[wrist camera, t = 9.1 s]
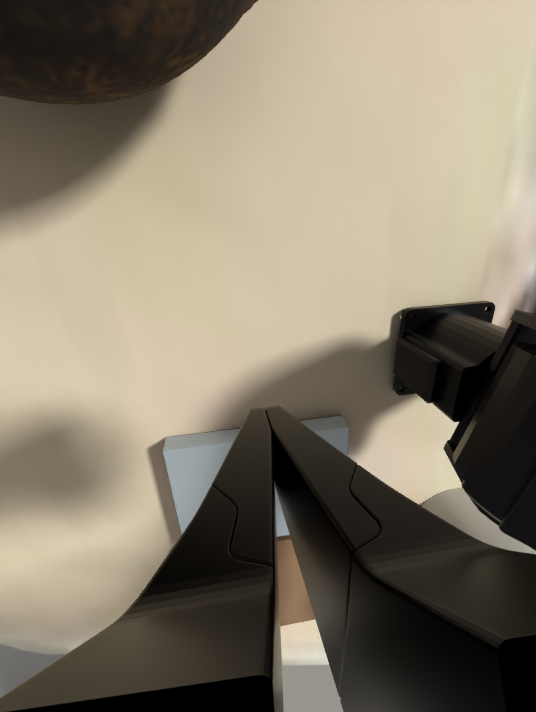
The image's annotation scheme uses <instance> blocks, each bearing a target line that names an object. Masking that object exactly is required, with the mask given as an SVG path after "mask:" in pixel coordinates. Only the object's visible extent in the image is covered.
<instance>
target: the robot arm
mask: <svg viewBox="0 0 536 712" xmlns="http://www.w3.org/2000/svg"><path fill="white" fill-rule="evenodd" d="M486 307H487V309H486V310H485V308H486ZM494 311H495V305H494V304H493V303H492V302H488V301H479V302H468V303H457V304H445V305H434V306H423V307H411V308H407V309H406V310H404V312H403V314H402V319H401V327H400V335H399V340H398V341H397V346H396V354H395V363H394V371H393V373H394V374H395V375H394V383H393V390H394V391H395V392H396V393H397V394H398V395H407V394H418V395H419V396H420V397H421V398H422V399H423V400H424V401H425V402H427V403H433V404H434V405H435V406H436V407H437V408H438V409H440V410H441V411H442V412H443V413H444V414H445V415H446V416H448V417H449V418H450V419H451V420H452V421H453V422H459V421H460V422H459V424H458V425H457V427H456V429H455V431H454V433H453V435H452V437H451V439H450V440H448V441H447V442H446V444H445V446H444V450H445V452H446V454H447V456H448V458H449V460H450V462H451V464H452V465H453V467H454V469H455V471H456V473H457V475H458V477H459V479H460V481H461V483H462V487H463V489H464V491H465V493H466V494H467V495H468V496H469V498H470V499H471V501H472V502H473V504H474V505H475V506H476V507H477V508H478V510H479V511H480V512H481V513H482V514H484V515H485V516H486V517H487V518H489V519H490V520H491V521H492V522H494V523H495V524H497V525H498V526H499V529H500V530H501V531H502V532H503V533H504V534H506V535H508V536H510V537H512V538H514V539H516V540H518V541H520V542H521V543H523V544H525V545H527V546H529V547H531V548H532V549H534V550H535V551H536V314H533V313H528V312H524V311H520V310H515V311H514V313H513V315H512V317H511V319H510V320H512V322H511V324H510V326H509V328H508V330H507V329H505V328H502V327H500V326H497V325H494V324H492V319H493V315H494ZM411 313H412V314H413V315H412V317H411V318H409V315H410V314H411ZM402 386H403V387H402ZM400 387H402V388H401V389H400V390H399V388H400ZM275 488H276V491H277V495H278V498H279V502H280V505H281V508H282V511H283V515H284V518H285V521H286V524H287V528H288V531H289V534H290V538H291V541H292V544H293V547H294V551H295V554H296V557H297V560H298V564H299V567H300V570H301V573H302V577H303V580H304V583H305V587H306V590H307V593H308V596H309V600H310V603H311V606H312V609H313V613H314V616H315V619H316V622H317V626H318V629H319V632H320V636H321V639H322V642H323V645H324V649H325V652H326V655H327V658H328V662H329V665H330V668H331V671H332V675H333V678H334V681H335V685H336V688H337V691H338V694H339V696H340V698H341V704H342V708H343V711H344V712H536V554H531V553H524V552H516V551H510V550H506V549H502V548H498V547H495V546H492V545H489V544H487V543H484V542H482V541H480V540H478V539H476V538H474V537H472V536H470V535H469V534H467V533H465V532H463V531H462V530H460V529H458V528H457V527H455V526H453V525H452V524H450V523H448V522H447V521H445V520H443V519H442V518H440V517H438V516H437V515H435V514H433V513H432V512H430V511H428V510H427V509H425V508H423V507H422V506H420V505H418V504H417V503H415V502H413V501H412V500H410V499H409V498H407V497H405V496H404V495H402V494H401V493H399V492H397V491H396V490H394V489H393V488H391V487H390V486H388V485H387V484H385V483H384V482H382V481H381V480H379V479H378V478H376V477H375V476H374V475H372V474H371V473H369V472H368V471H367V470H365V469H364V468H363V467H361V466H360V465H357V463H356V462H354V461H353V460H352V459H350V458H349V457H348V456H346V455H345V454H344V453H342V452H341V451H339V450H338V449H337V448H335V447H334V446H333V445H331V444H330V443H329V442H327V441H326V440H325V439H323V438H322V437H321V436H319V435H318V434H316V433H315V432H314V431H312V430H311V429H310V428H308V427H307V426H306V425H304V424H303V423H302V422H300V421H299V420H298V419H296V418H295V417H294V416H292V415H291V414H289V413H288V412H287V411H285V410H284V409H283V408H281V407H280V406H274V407H267V408H266V409H264V408H258V409H251V410H250V411H249V413H248V415H247V417H246V418H245V420H244V422H243V424H242V426H241V428H240V430H239V432H238V434H237V436H236V438H235V440H234V442H233V444H232V446H231V448H230V449H229V451H228V453H227V455H226V457H225V459H224V461H223V463H222V465H221V467H220V469H219V471H218V473H217V475H216V477H215V479H214V480H213V482H212V484H211V487H210V488H209V490H208V492H207V494H206V496H205V498H204V500H203V501H202V503H201V505H200V507H199V508H198V510H197V512H196V514H195V515H194V517H193V519H192V520H191V522H190V523H189V525H188V526H187V528H186V529H185V531H184V532H183V534H182V535H181V537H180V538H179V540H178V541H177V543H176V544H175V545H174V547H173V548H172V550H171V551H170V553H169V554H168V556H167V557H166V558H165V560H164V561H163V563H162V564H161V566H160V567H159V568H158V570H157V571H156V573H155V574H154V576H153V577H152V579H151V580H150V581H149V583H148V584H147V586H146V587H145V589H144V590H143V591H142V593H141V594H140V596H139V597H138V598H137V599H136V601H135V602H134V603H133V604H132V605H131V607H130V608H129V609H128V610H127V611H126V612H125V613H124V614H123V615H122V616H121V617H120V618H119V619H118V620H116V621H115V622H114V623H113V624H112V625H110V626H109V627H107V628H106V629H104V630H103V631H101V632H100V633H98V634H97V635H95V636H94V637H92V638H91V639H89V640H88V641H86V642H84V643H83V644H81V645H80V646H78V647H77V648H75V649H74V650H72V651H71V652H69V653H68V654H66V655H65V656H63V657H62V658H60V659H58V660H57V661H56V662H54V663H52V664H51V665H49V666H48V667H46V668H45V669H43V670H42V671H40V672H39V673H37V674H36V675H34V676H33V677H31V678H29V679H28V680H26V681H25V682H24V683H22V684H20V685H19V686H18V687H16V688H14V689H13V690H11V691H10V692H8V693H6V694H5V695H3V696H2V697H0V712H283V684H282V658H281V632H280V606H279V580H278V554H277V528H276V502H275Z"/></svg>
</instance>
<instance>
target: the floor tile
mask: <svg viewBox="0 0 536 712" xmlns="http://www.w3.org/2000/svg"><path fill="white" fill-rule="evenodd" d="M300 422H302V423H303V424H304V425H306V426H307V427H308V428H310V429H311V430H312V431H314V432H315V433H316V434H318V435H319V436H321V437H322V438H323V439H325V440H326V441H327V442H329V443H330V444H331V445H333V446H334V447H335V448H337V449H338V450H339V451H341V452H342V453H344V454H345V455H346V456H348V440H349V426H348V424H347V423H346V421H345V419H344V418H343V416H334V417H325V418H317V419H309V420H301V421H300ZM239 430H240V428H237V429H229V430H221V431H213V432H205V433H197V434H189V435H181V436H173V437H166V440H165V444H164V449H163V454H164V458H165V463H166V467H167V472H168V476H169V481H170V485H171V490H172V494H173V499H174V503H175V508H176V512H177V517H178V521H179V526H180V530H181V535H182V534H183V532H184V531H185V529H186V528H187V526H188V525H189V523H190V522H191V520H192V519H193V517H194V515H195V514H196V512H197V510H198V508H199V507H200V505H201V503H202V501H203V500H204V498H205V496H206V494H207V492H208V490H209V488H210V487H211V484H212V482H213V480H214V479H215V477H216V475H217V473H218V471H219V469H220V467H221V465H222V463H223V461H224V459H225V457H226V455H227V453H228V451H229V449H230V448H231V446H232V444H233V442H234V440H235V438H236V436H237V434H238V432H239ZM275 502H276V528H277V537H279V536H285V535H290V534H289V531H288V528H287V524H286V521H285V518H284V515H283V511H282V508H281V505H280V502H279V498H278V495H277V491H276V488H275Z"/></svg>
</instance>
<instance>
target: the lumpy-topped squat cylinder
mask: <svg viewBox="0 0 536 712" xmlns="http://www.w3.org/2000/svg"><path fill="white" fill-rule="evenodd" d="M421 506H422V507H423V508H425V509H427V510H428V511H430V512H432V513H433V514H435V515H437V516H438V517H440V518H442V519H443V520H445V521H447V522H448V523H450V524H452V525H453V526H455V527H457V528H458V529H460V530H462V531H463V532H465V533H467V534H469V535H470V536H472V537H474V538H476V539H478V540H480V541H482V542H484V543H487V544H489V545H492V546H495V547H498V548H502V549H506V550H510V551H516V552H524V553H531V554H536V551H535V550H534V549H532V548H531V547H529V546H527V545H525V544H523V543H521V542H520V541H518V540H516V539H514V538H512V537H510V536H508V535H506V534H504V533H503V532H502V531H501V530H500V529H499V526H498V525H497V524H495V523H494V522H492V521H491V520H490V519H489V518H487V517H486V516H485V515H484V514H482V513H481V512H480V511H479V510H478V508H477V507H476V506H475V505H474V504H473V502H472V501H471V499H470V498H469V496H468V495H467V494H466V493H465V491H464V489H463V488H456V489H451V490H447V491H443V492H441V493H438V494H436V495H434V496H433V497H431V498H429V499H428V500H427V501H426V502H424V503H423V504H422V505H421Z"/></svg>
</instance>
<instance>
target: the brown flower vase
mask: <svg viewBox="0 0 536 712" xmlns="http://www.w3.org/2000/svg"><path fill="white" fill-rule="evenodd" d="M257 1H258V0H0V95H1V96H6V97H11V98H17V99H22V100H29V101H35V102H42V103H50V104H94V103H99V102H109V101H114V100H118V99H123V98H128V97H131V96H134V95H138V94H142V93H144V92H147V91H149V90H151V89H154V88H156V87H159V86H161V85H163V84H165V83H167V82H169V81H171V80H172V79H174V78H176V77H178V76H180V75H181V74H182V73H184V72H185V71H187V70H188V69H190V68H191V67H192V66H194V65H195V64H196V63H197V62H199V61H200V60H201V59H202V58H203V57H205V56H206V55H207V54H208V53H209V52H210V51H211V50H212V49H213V48H214V47H215V46H216V45H217V44H218V43H219V42H220V41H221V40H222V39H223V38H224V37H225V36H226V35H227V34H228V33H229V32H230V31H231V30H232V29H233V27H234V26H235V25H236V24H237V22H238V21H239V20H240V18H241V17H242V15H243V14H244V13H246V12H247V11H248V10H249V9H250V8H251V7H252V6H253V4H254V3H255V2H257Z"/></svg>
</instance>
